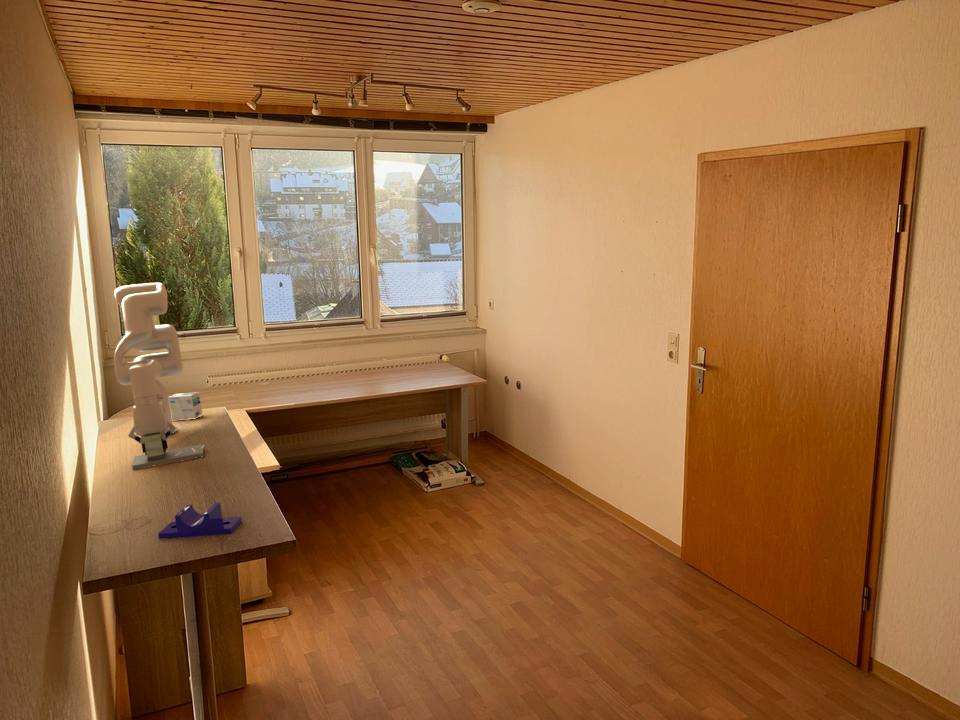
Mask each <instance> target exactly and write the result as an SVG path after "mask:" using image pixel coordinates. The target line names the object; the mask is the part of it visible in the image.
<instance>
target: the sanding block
mask: <svg viewBox="0 0 960 720" xmlns="http://www.w3.org/2000/svg"><path fill="white" fill-rule="evenodd" d="M144 443H145V448H146V454H147V460H148V461H154V460H159V459H164V455H165V452H164V451H163V445H162V437H161V434H160V433H155V434H149V435H145V436H144Z"/></svg>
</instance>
